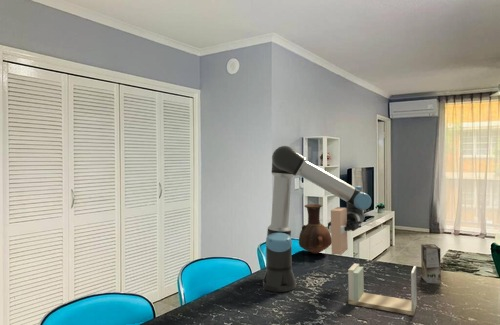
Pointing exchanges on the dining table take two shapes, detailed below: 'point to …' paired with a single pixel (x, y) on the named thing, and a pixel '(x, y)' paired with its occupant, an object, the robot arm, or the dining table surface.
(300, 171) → the robot arm
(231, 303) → the dining table surface
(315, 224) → the vase
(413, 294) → the grey flat panel
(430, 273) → the coffee box
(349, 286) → the books
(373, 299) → the board
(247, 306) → the dining table surface
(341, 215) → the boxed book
